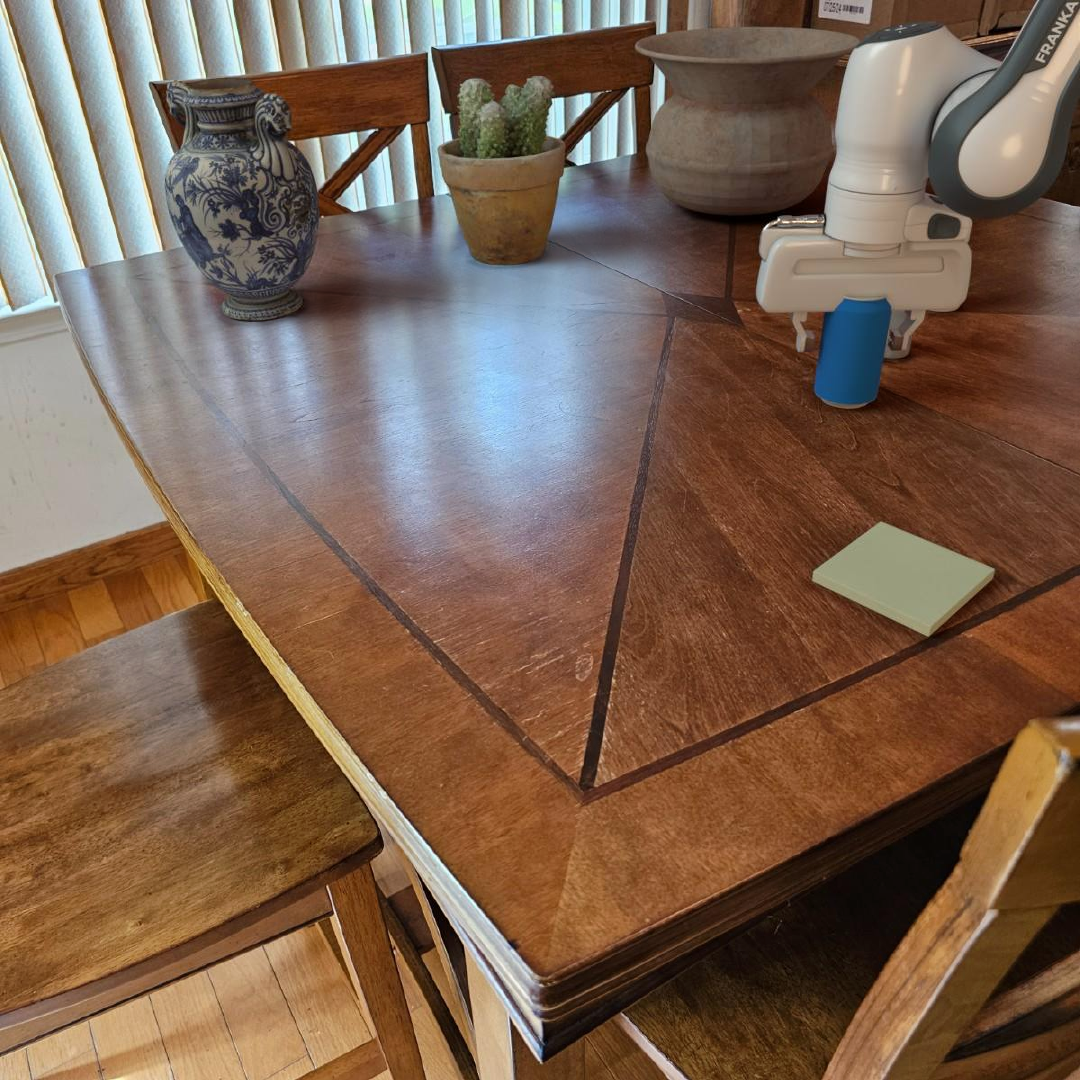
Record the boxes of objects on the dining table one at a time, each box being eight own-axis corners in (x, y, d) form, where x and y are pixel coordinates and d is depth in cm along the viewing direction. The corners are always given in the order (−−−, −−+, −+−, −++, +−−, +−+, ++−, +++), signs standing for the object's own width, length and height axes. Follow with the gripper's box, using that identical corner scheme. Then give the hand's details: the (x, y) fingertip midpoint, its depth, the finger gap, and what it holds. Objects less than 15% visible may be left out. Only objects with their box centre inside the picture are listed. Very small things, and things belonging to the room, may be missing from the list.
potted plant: (432, 271, 143) (414, 85, 129) (463, 233, 158) (450, 62, 144) (556, 275, 140) (552, 84, 126) (576, 235, 155) (573, 61, 141)
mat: (992, 579, 78) (995, 568, 77) (928, 637, 72) (931, 626, 72) (878, 530, 84) (880, 520, 83) (811, 581, 78) (813, 570, 78)
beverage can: (889, 402, 104) (909, 291, 97) (843, 417, 101) (860, 305, 94) (845, 380, 108) (861, 273, 102) (800, 394, 106) (813, 286, 99)
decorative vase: (369, 298, 135) (339, 75, 119) (269, 345, 122) (221, 102, 107) (260, 274, 145) (219, 65, 129) (157, 315, 132) (98, 89, 117)
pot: (752, 252, 145) (769, 66, 131) (589, 209, 167) (589, 46, 153) (879, 203, 164) (906, 36, 150) (718, 170, 185) (728, 21, 171)
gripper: (767, 225, 92) (753, 363, 100) (990, 221, 91) (959, 360, 99) (756, 206, 97) (744, 339, 105) (967, 202, 96) (939, 335, 104)
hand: (850, 349), depth 102 cm, fingers open, 8 cm apart
